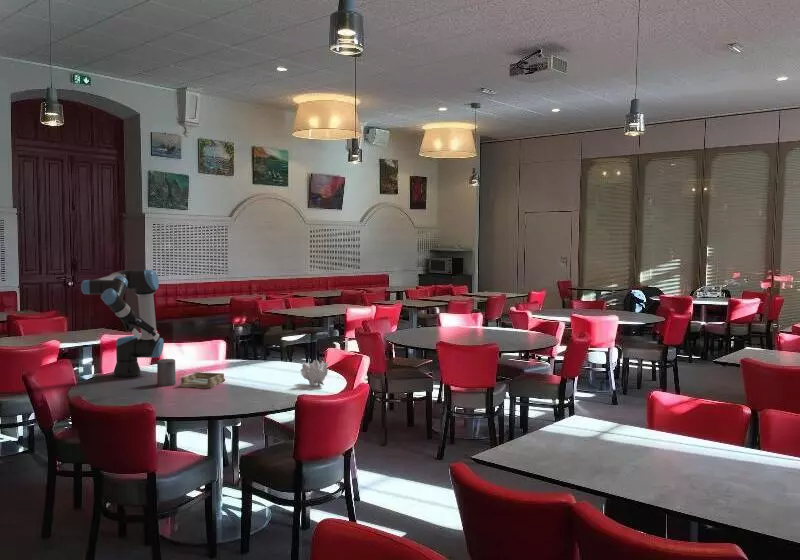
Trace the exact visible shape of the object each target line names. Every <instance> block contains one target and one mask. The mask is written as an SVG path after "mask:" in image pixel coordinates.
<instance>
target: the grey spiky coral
mask: <svg viewBox="0 0 800 560" xmlns="http://www.w3.org/2000/svg"><path fill="white" fill-rule="evenodd" d="M301 364H302V366H301V367H302V368H301V369H300V372H301V374H300V375H301V376H302V377H303V378H304V380H307V381H308V383H309V386H310V387H311V386H312V387H313V386H314V384H315V385H316V384H317V386H321V385H322V386H324V385H325V384H324V381H325V379H326V377H327V376H328V371H329V368H327V367H328V364H329V361H328V362H324V360H322V361H321V362H320V361H319V360H318V358H317V357H316V358H315V359H314V360H313V361H312V363H310V362H301Z"/></svg>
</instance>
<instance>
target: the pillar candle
mask: <svg viewBox="0 0 800 560" xmlns="http://www.w3.org/2000/svg"><path fill="white" fill-rule="evenodd" d="M156 362H157V363H156V366H157V367H156V369H157V370H156V371H157V372H156V375H157V376H156V378H157V380H156V381H157V382H156V383H157V386H158V385H159V386H158V387H170V386H169V385H171V386H174V384H175V385H176V384H177V383H176V382H177V380H176V359H173V358H161V359H158V360H157V361H156Z"/></svg>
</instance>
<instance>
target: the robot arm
mask: <svg viewBox="0 0 800 560" xmlns="http://www.w3.org/2000/svg"><path fill="white" fill-rule="evenodd" d="M159 283H160V281H159V277H158V274H157V272H156V271H155V270H153V269H122V270H119V271H116V272H112V273H111V274H109V275H107V276H104V277H100V278H96V279H83V280H82V281H81V284H80V290H81V293H82V294H83V295H100V299H101V300H102V301H103V302H104V305H106V306H107V307H108V308H109V309H110V310H111V311H112V312H113V313H114V314H115V316H116V317H118V318H119V320H120V321H121V323H122V324H123V326H124V328H125V330H126V331H129V332H130V333H132V335H128V336H123V337H118V338H117V339H116V343H115V348H116V350H115V352H116V353H115V354H116V363H115V366H114V369H113V373H112V374H113V377H115V378H131V377H130V376H132V377H136V375H137V376H139V375H141V374H142V373H141V368H140V365H139V362H138V358H143V359H144V358H146V359H147V358H151V359H153V358H159V357H160V356H161V355H162V353H163V350H164V344H165V343H164V342H165V341H164V338H163V337H160V333H158V332H157V320H156V310H155V300H154V299H155V298H154V294H156V292H157V291H156V290H158V289H159ZM127 290H129V291H130V290H132V291H133V290H134V294H135V295H136V296H137V302H138V313H139V317H138V318H137V317H136V313H135V311H134V310H133V308H131V307H130V306H129V304H128V303H127V302H126V301H125V300H124V299H123V298H124V295H125V293H126V291H127ZM136 327H137V328H140V332H139V331H138V330H137V328H136Z"/></svg>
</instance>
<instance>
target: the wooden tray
mask: <svg viewBox="0 0 800 560" xmlns="http://www.w3.org/2000/svg"><path fill="white" fill-rule="evenodd" d="M180 380H181V381H180V386H179V387H180V388H189V387H196V388H195V389H213V388H215V387H217V386H216V385H218V384H220V383H222V382H224V381H225V382H226V378H225V373H220V372H218V373H216V372H194V373H191V374H189V375H185V376H183V377H181V378H180ZM225 382H224V383H225ZM222 384H223V383H222ZM220 385H221V384H220ZM214 386H215V387H214ZM218 386H219V385H218ZM212 387H213V388H212Z"/></svg>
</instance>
